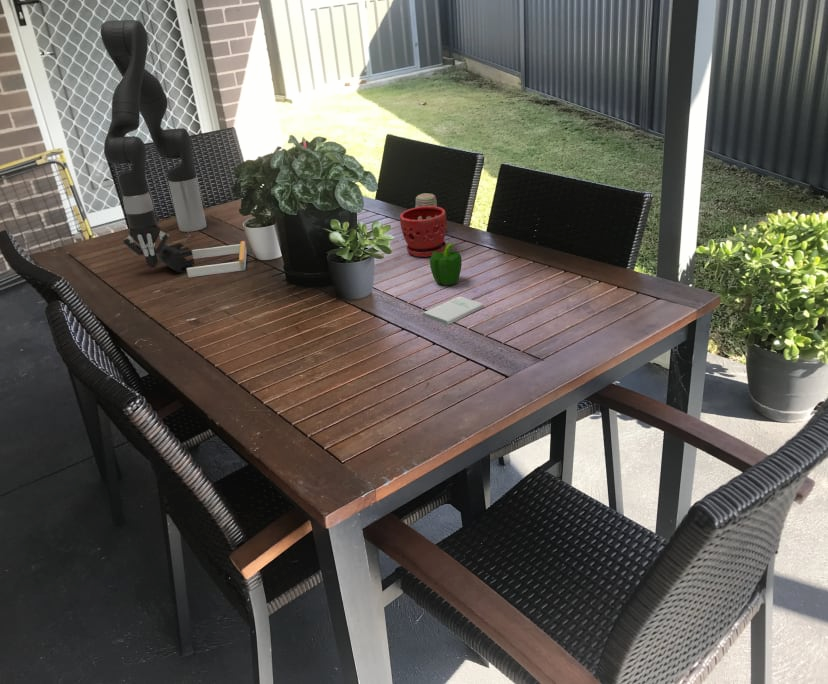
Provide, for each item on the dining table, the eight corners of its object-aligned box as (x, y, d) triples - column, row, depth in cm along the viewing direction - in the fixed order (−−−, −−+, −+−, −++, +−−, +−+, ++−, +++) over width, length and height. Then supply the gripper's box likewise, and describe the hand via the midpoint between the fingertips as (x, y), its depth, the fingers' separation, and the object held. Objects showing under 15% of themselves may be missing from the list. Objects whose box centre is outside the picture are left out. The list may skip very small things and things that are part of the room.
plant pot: (420, 242, 220) (417, 203, 214) (456, 248, 213) (454, 208, 207) (394, 255, 211) (390, 215, 205) (431, 262, 203) (428, 221, 198)
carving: (432, 237, 223) (429, 199, 218) (411, 234, 227) (408, 196, 221) (442, 231, 228) (440, 193, 222) (422, 228, 231) (420, 191, 226)
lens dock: (193, 257, 222) (191, 247, 220) (246, 251, 224) (244, 240, 222) (188, 277, 207) (186, 266, 205) (245, 270, 209) (243, 259, 207)
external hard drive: (423, 318, 172) (458, 301, 180) (448, 327, 167) (483, 309, 174) (422, 312, 172) (458, 295, 179) (447, 321, 166) (483, 303, 173)
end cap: (160, 268, 216) (154, 246, 213) (182, 261, 220) (177, 240, 217) (173, 276, 209) (167, 254, 206) (196, 269, 212) (191, 247, 209)
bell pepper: (440, 290, 185) (437, 253, 180) (426, 280, 192) (424, 244, 187) (469, 283, 188) (467, 247, 183) (454, 274, 194) (453, 238, 190)
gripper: (165, 203, 209) (178, 260, 216) (117, 208, 207) (132, 265, 215) (161, 210, 202) (175, 268, 210) (112, 215, 200) (127, 274, 208)
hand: (153, 267), depth 212 cm, fingers closed
